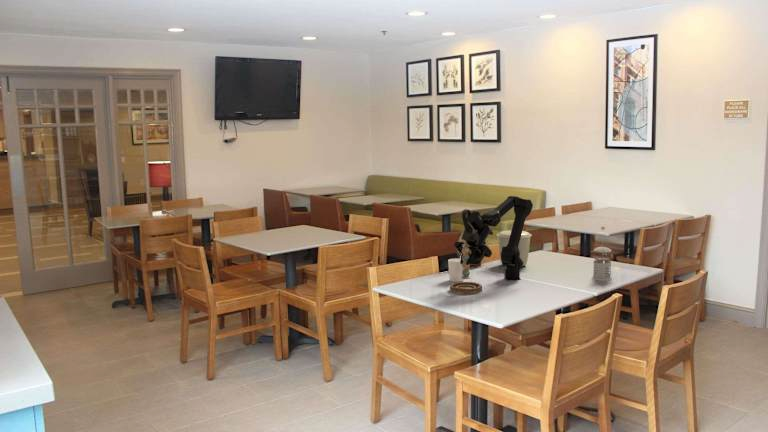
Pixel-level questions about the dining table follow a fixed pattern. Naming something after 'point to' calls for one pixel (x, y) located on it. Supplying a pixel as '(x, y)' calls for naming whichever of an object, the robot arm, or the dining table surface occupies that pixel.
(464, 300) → the dining table surface
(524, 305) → the dining table surface
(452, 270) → the white cup
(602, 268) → the french press
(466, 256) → the post
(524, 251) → the canister
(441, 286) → the dining table surface
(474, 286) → the groove tray
